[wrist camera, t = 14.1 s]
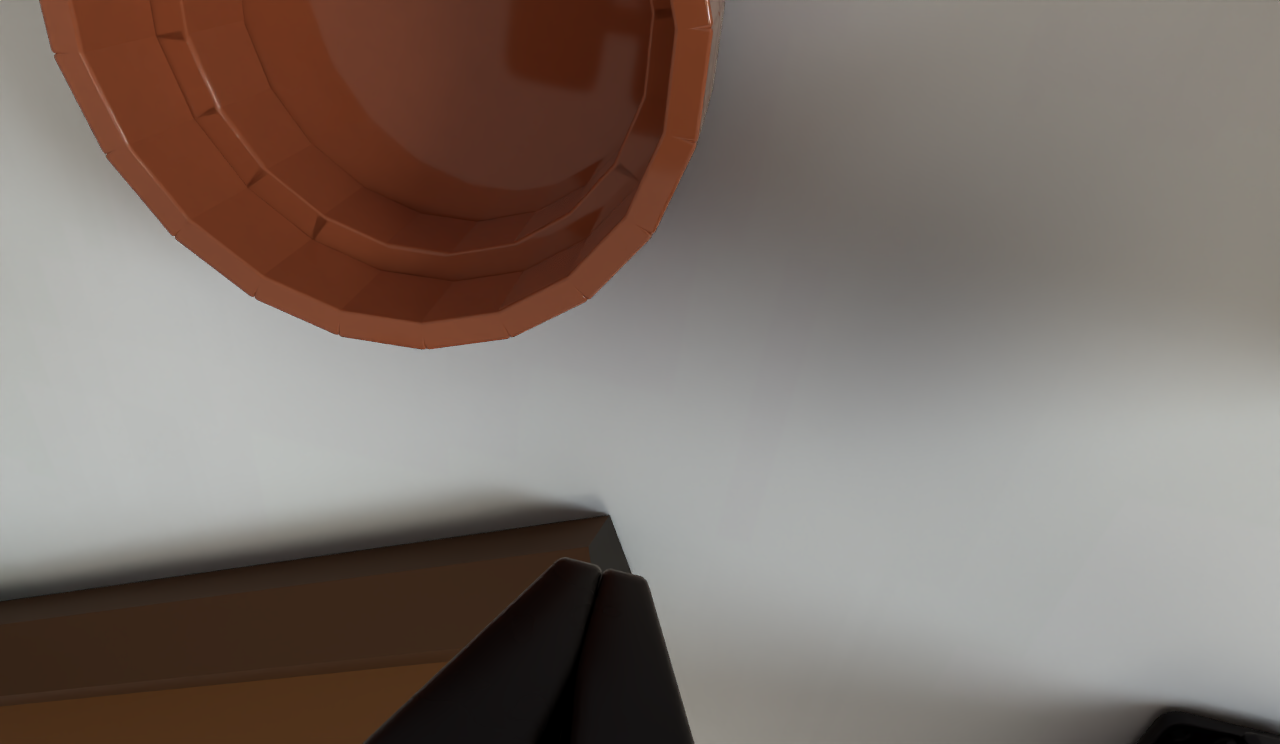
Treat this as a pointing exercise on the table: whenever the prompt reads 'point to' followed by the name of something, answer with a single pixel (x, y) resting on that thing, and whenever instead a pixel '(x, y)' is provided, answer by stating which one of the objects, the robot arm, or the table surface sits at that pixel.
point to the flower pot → (399, 145)
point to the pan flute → (268, 641)
